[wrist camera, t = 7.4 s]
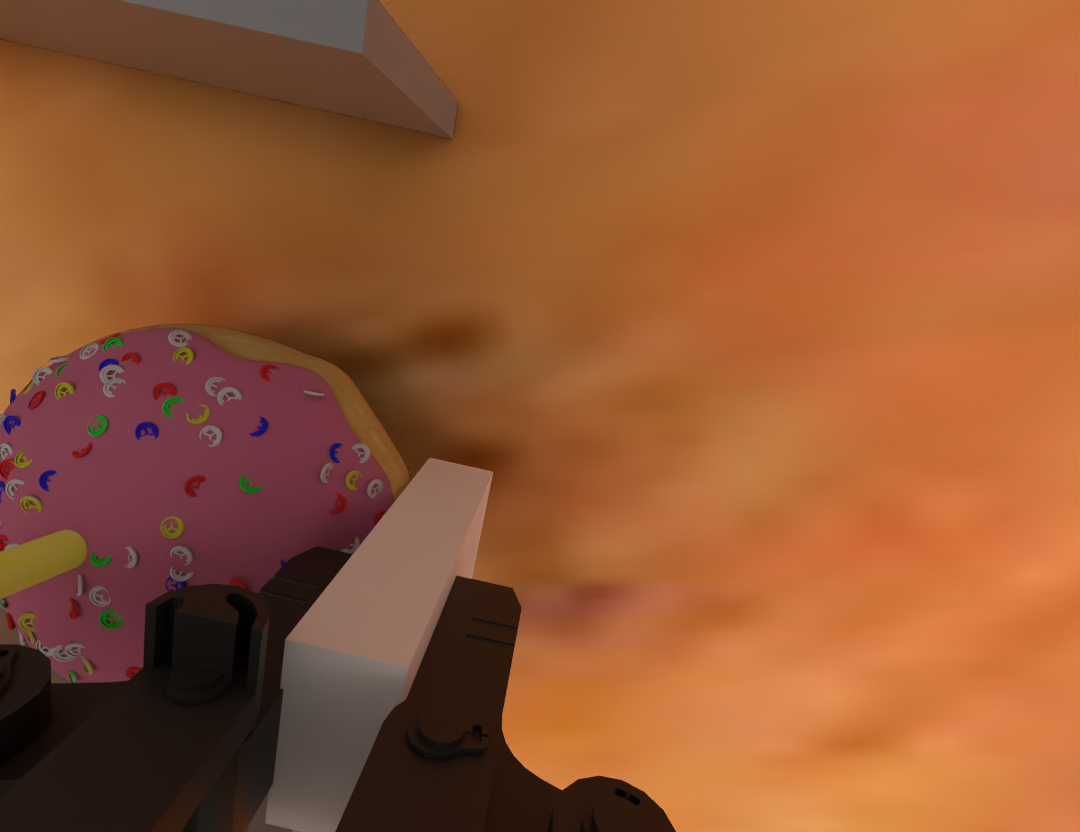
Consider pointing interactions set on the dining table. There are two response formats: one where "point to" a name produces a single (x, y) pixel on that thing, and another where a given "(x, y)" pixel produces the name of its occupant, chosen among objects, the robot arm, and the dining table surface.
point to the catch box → (250, 71)
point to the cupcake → (174, 482)
